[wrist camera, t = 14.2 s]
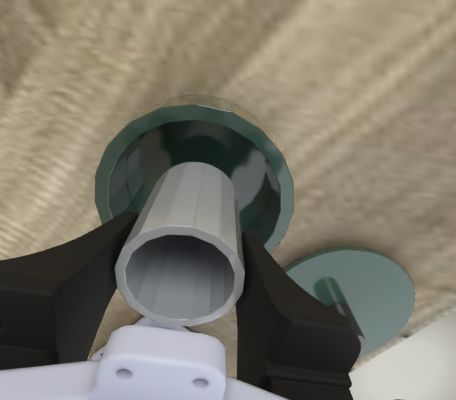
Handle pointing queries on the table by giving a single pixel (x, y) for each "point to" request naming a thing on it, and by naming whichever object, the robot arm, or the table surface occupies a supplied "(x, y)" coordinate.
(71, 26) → the table surface
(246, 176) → the pot
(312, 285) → the pot lid
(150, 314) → the gray cylindrical cup
